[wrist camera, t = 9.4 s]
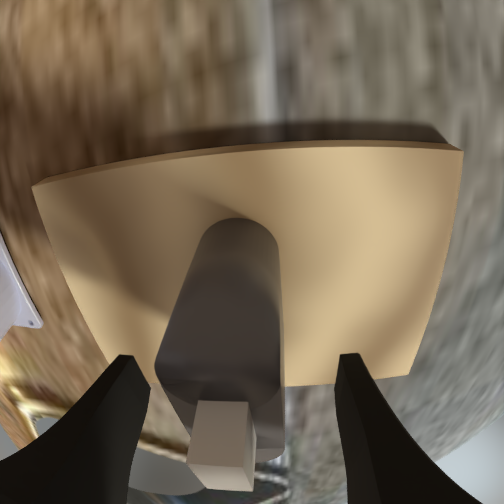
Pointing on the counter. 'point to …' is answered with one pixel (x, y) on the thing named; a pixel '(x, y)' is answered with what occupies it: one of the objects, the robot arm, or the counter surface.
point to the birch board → (284, 231)
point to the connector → (228, 355)
